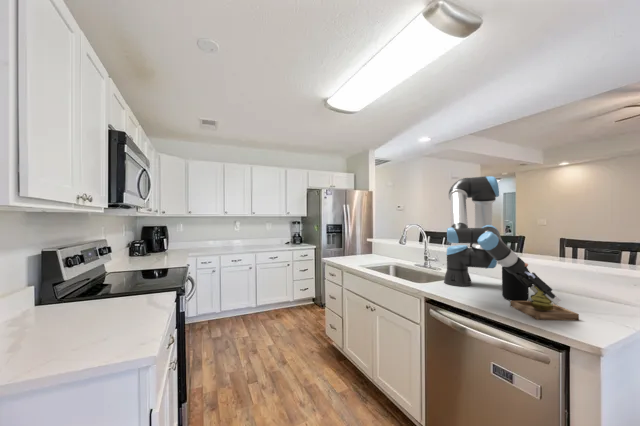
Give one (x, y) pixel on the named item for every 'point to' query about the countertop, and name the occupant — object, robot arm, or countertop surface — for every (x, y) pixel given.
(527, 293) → the coffee jar
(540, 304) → the olive green tiered piece
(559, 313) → the tray
